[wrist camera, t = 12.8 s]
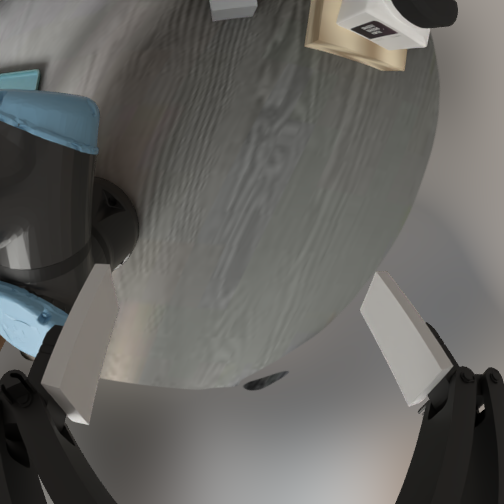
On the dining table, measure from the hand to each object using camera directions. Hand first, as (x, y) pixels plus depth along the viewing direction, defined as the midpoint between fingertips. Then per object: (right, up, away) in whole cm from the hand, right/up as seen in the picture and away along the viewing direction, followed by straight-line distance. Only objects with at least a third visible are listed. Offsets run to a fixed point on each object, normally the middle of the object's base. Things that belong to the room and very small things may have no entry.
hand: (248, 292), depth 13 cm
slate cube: (-3, +33, +11) cm, 35 cm away
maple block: (+13, +33, +13) cm, 38 cm away
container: (+14, +30, +9) cm, 34 cm away
